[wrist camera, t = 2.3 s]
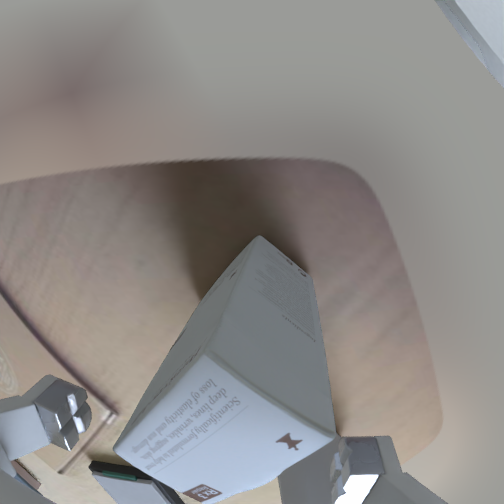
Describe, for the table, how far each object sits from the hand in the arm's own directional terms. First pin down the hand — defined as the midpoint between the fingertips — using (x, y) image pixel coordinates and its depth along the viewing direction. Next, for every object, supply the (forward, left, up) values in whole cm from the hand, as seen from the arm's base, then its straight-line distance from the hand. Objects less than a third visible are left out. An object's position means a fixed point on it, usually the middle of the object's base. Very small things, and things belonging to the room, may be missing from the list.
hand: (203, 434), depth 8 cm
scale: (+21, -18, -11) cm, 30 cm away
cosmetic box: (0, 0, -11) cm, 11 cm away
